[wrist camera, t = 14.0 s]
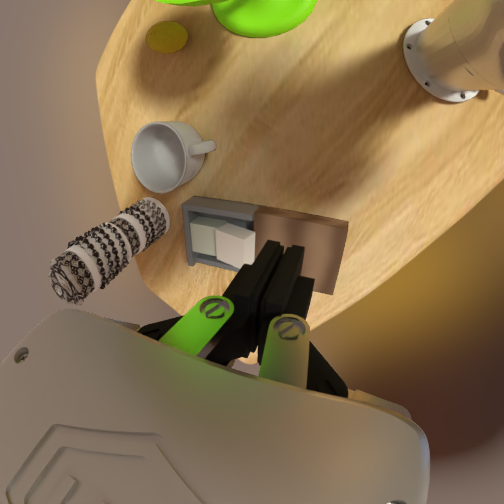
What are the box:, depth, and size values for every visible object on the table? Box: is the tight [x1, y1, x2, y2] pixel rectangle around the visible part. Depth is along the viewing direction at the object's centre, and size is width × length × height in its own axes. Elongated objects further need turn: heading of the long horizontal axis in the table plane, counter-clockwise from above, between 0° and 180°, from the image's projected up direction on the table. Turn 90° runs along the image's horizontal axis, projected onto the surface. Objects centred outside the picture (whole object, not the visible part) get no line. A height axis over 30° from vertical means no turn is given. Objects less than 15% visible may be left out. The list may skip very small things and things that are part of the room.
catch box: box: [182, 196, 260, 272], centre depth 47 cm, size 12×12×4 cm
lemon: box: [146, 21, 188, 54], centre depth 30 cm, size 6×6×8 cm
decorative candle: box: [49, 197, 170, 305], centre depth 42 cm, size 9×9×25 cm
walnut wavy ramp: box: [252, 205, 349, 295], centre depth 44 cm, size 14×12×3 cm
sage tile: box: [190, 216, 227, 256], centre depth 47 cm, size 6×6×3 cm
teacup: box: [131, 121, 216, 193], centre depth 39 cm, size 14×11×8 cm
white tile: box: [216, 223, 255, 269], centre depth 44 cm, size 6×6×3 cm
